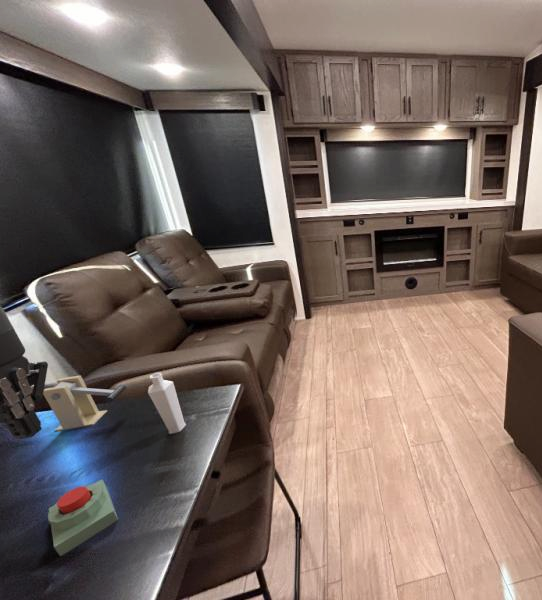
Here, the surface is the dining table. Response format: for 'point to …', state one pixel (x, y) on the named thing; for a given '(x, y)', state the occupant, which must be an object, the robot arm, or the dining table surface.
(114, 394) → the gray bracket-mounted lever
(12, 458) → the dining table surface
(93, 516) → the button block
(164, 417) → the perfume bottle
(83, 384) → the lever bracket
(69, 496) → the button
